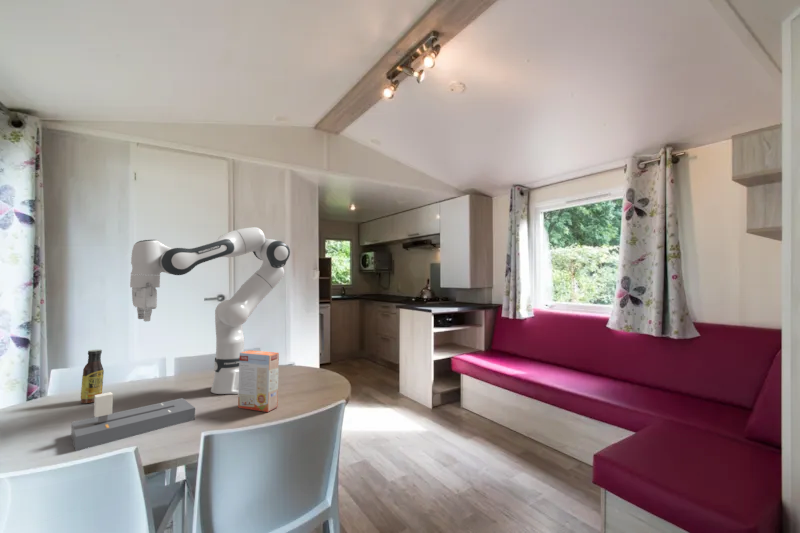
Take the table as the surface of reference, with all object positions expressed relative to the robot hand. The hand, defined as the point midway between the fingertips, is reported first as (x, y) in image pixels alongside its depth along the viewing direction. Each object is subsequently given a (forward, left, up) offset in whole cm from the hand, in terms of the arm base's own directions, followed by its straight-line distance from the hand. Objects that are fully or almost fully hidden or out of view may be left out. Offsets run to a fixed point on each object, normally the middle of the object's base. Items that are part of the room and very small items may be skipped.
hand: (143, 320), depth 126 cm
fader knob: (+12, +16, -29) cm, 35 cm away
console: (+4, +16, -33) cm, 37 cm away
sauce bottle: (+11, -25, -33) cm, 43 cm away
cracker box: (-31, +28, -33) cm, 53 cm away
